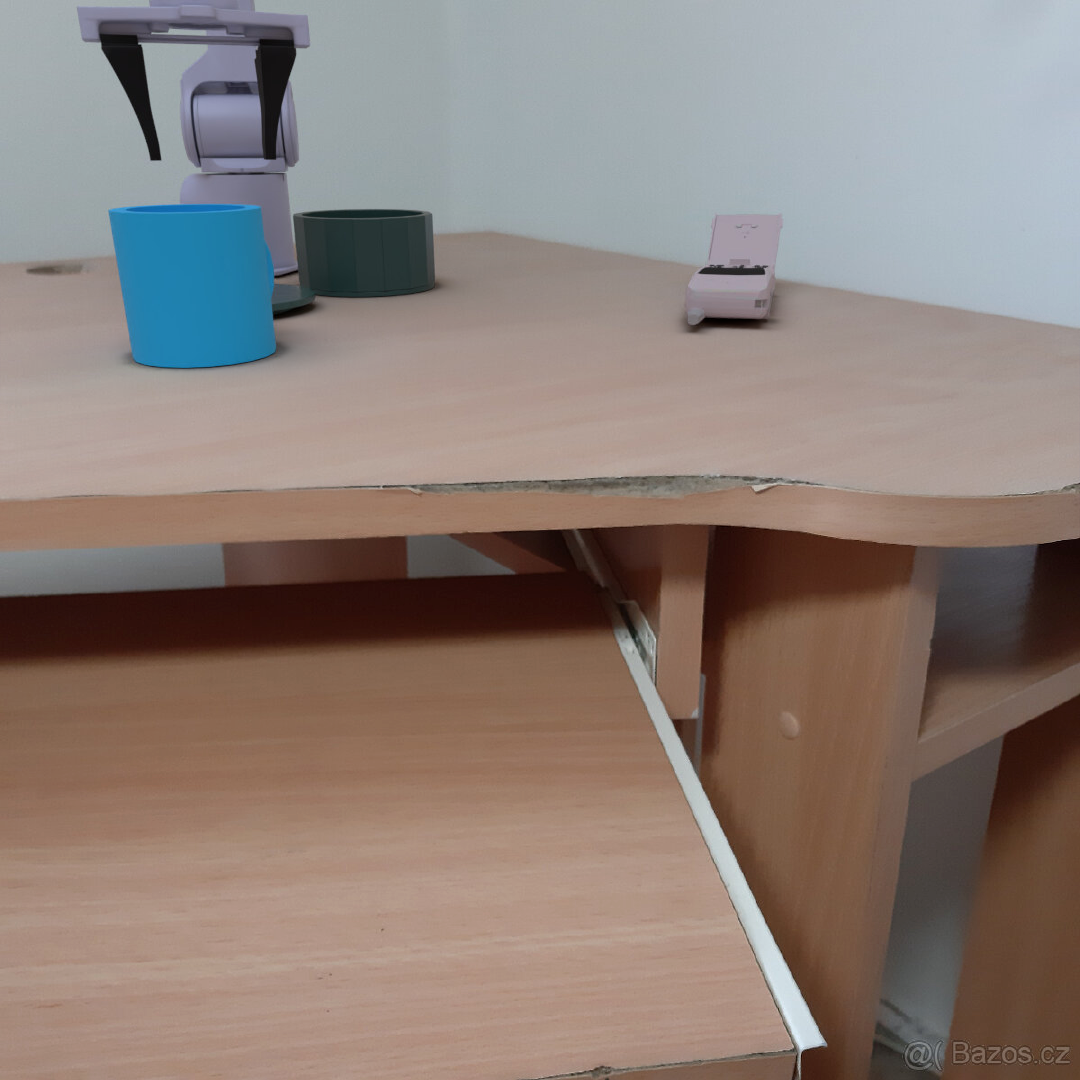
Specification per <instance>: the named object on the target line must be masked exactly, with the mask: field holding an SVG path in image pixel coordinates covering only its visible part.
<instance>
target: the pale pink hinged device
mask: <svg viewBox="0 0 1080 1080" xmlns="http://www.w3.org/2000/svg"><path fill="white" fill-rule="evenodd" d="M782 217H783V213H778V214H765V213H764V214H763V213H761V214H760V213H750V214H747V213H746V214H718V213H714V218H712V220H711V225H710V228H711V233H710V242H709V248H708V256H707V262H706V263H705V264H704V266H702V267H700V268H699V269H696V271H695V272H694V273H693V274H692V276H691V277H690V279H689V282H688V284H687V286H686V291H685V298H684V299H685V300H684V308H685V313H686V315H687V324H688V325H691V326H695V325H699V324H700V323H701V322H702V321H703V320H704V319H706V318H707V319H739V320H740V319H741V320H769V319H770V313H771V308H772V302H773V297H774V293H775V287H776V277H775V276H776V275H775V274H776V262H777V256H778V250H779V243H780V234H781V229H783V227H784V218H782Z"/></svg>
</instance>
